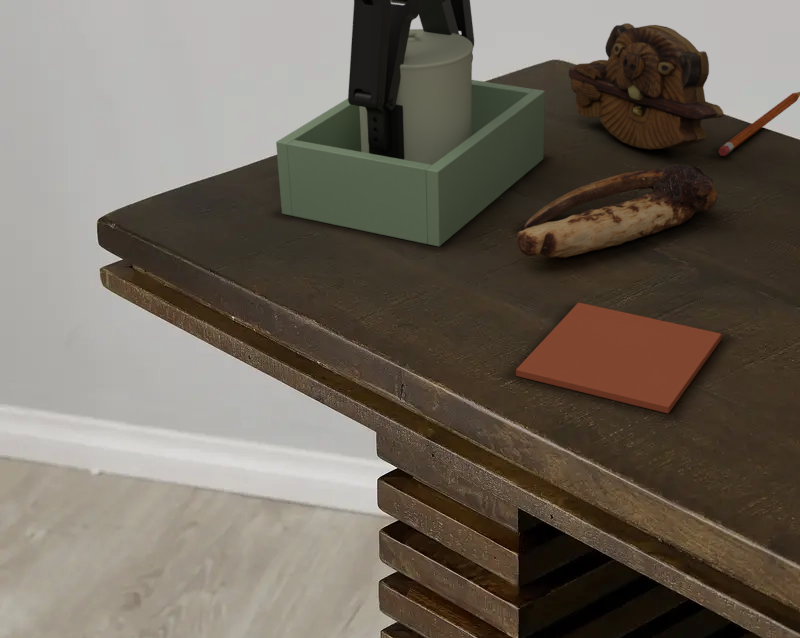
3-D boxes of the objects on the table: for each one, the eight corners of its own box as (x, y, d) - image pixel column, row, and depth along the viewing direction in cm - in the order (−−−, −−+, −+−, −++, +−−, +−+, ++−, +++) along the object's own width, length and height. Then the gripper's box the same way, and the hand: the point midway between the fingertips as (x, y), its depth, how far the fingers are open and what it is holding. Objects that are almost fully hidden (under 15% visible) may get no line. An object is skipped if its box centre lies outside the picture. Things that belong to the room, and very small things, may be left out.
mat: (721, 340, 90) (721, 333, 90) (668, 414, 83) (668, 406, 82) (578, 308, 94) (578, 302, 94) (515, 376, 87) (515, 369, 87)
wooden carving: (551, 126, 123) (554, 14, 118) (587, 113, 126) (592, 3, 121) (696, 178, 113) (707, 57, 107) (732, 163, 115) (744, 44, 110)
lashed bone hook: (656, 191, 112) (470, 241, 104) (660, 134, 109) (470, 181, 101) (737, 227, 105) (544, 283, 97) (743, 168, 102) (546, 220, 94)
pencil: (717, 155, 116) (717, 147, 116) (797, 95, 129) (797, 87, 128) (726, 156, 116) (726, 148, 116) (805, 95, 128) (805, 88, 128)
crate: (543, 159, 117) (545, 90, 114) (439, 247, 103) (438, 171, 100) (398, 134, 123) (396, 68, 120) (281, 214, 109) (275, 141, 106)
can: (452, 157, 118) (451, 17, 112) (489, 198, 110) (490, 50, 104) (348, 172, 116) (340, 30, 109) (378, 215, 108) (372, 65, 102)
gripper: (433, -160, 110) (437, 113, 122) (284, -104, 94) (306, 204, 106) (519, -154, 107) (515, 126, 118) (380, -95, 91) (391, 222, 102)
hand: (416, 163), depth 112 cm, fingers closed on can, 9 cm apart
